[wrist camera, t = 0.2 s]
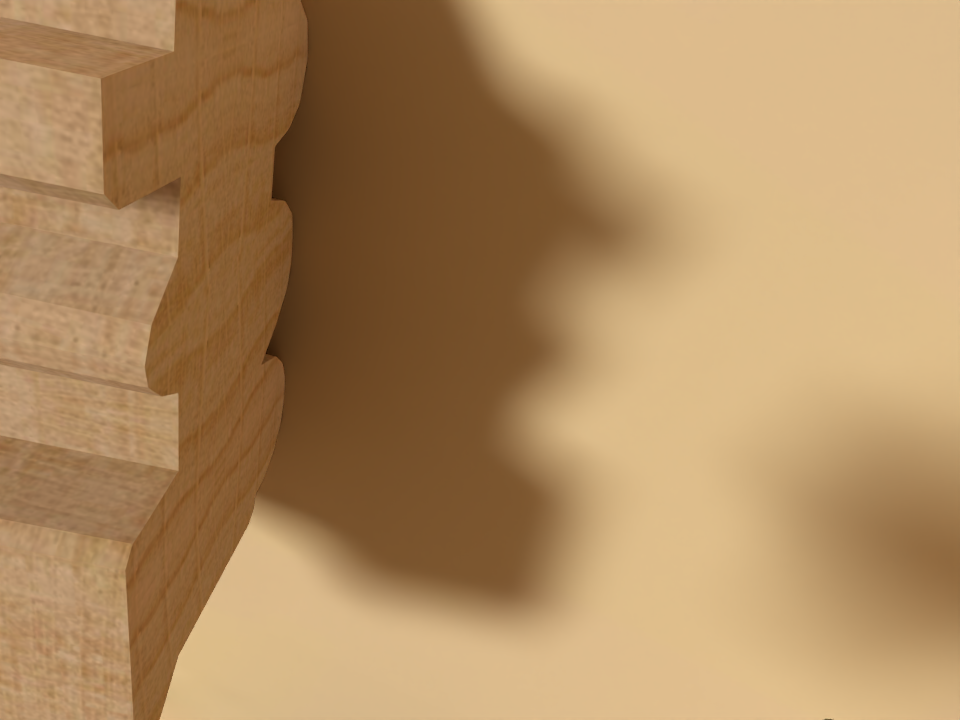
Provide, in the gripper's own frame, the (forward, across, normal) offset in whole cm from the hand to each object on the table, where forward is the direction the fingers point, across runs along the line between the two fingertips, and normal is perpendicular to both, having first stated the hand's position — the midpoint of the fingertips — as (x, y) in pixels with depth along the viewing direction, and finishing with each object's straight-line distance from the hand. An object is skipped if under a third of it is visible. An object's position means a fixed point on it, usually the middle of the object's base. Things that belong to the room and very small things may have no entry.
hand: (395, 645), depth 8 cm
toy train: (+15, +8, +3) cm, 17 cm away
